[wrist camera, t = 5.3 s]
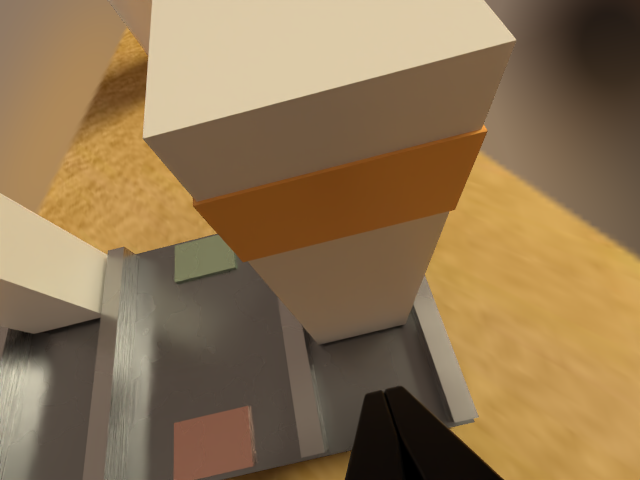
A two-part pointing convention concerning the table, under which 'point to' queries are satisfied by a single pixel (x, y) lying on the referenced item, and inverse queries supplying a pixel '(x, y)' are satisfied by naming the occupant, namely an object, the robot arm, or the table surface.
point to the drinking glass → (136, 18)
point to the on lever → (45, 273)
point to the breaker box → (204, 376)
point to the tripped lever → (325, 138)
